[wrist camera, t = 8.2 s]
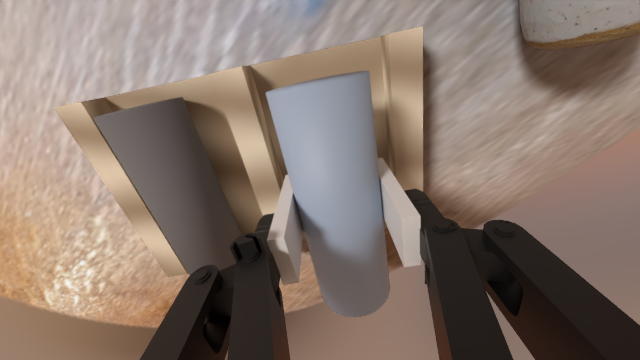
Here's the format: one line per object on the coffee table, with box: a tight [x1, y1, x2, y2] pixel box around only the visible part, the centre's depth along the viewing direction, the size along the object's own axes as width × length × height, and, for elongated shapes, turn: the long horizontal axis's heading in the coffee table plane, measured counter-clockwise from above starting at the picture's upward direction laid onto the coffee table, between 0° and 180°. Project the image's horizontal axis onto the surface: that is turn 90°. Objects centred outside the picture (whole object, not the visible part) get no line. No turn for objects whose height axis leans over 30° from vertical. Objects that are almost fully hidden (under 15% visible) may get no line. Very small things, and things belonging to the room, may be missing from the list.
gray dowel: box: [266, 71, 390, 317], centre depth 15 cm, size 14×5×5 cm, turn 11°
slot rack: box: [54, 26, 423, 277], centre depth 20 cm, size 16×24×3 cm, turn 101°
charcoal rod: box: [93, 97, 242, 275], centre depth 19 cm, size 14×5×5 cm
